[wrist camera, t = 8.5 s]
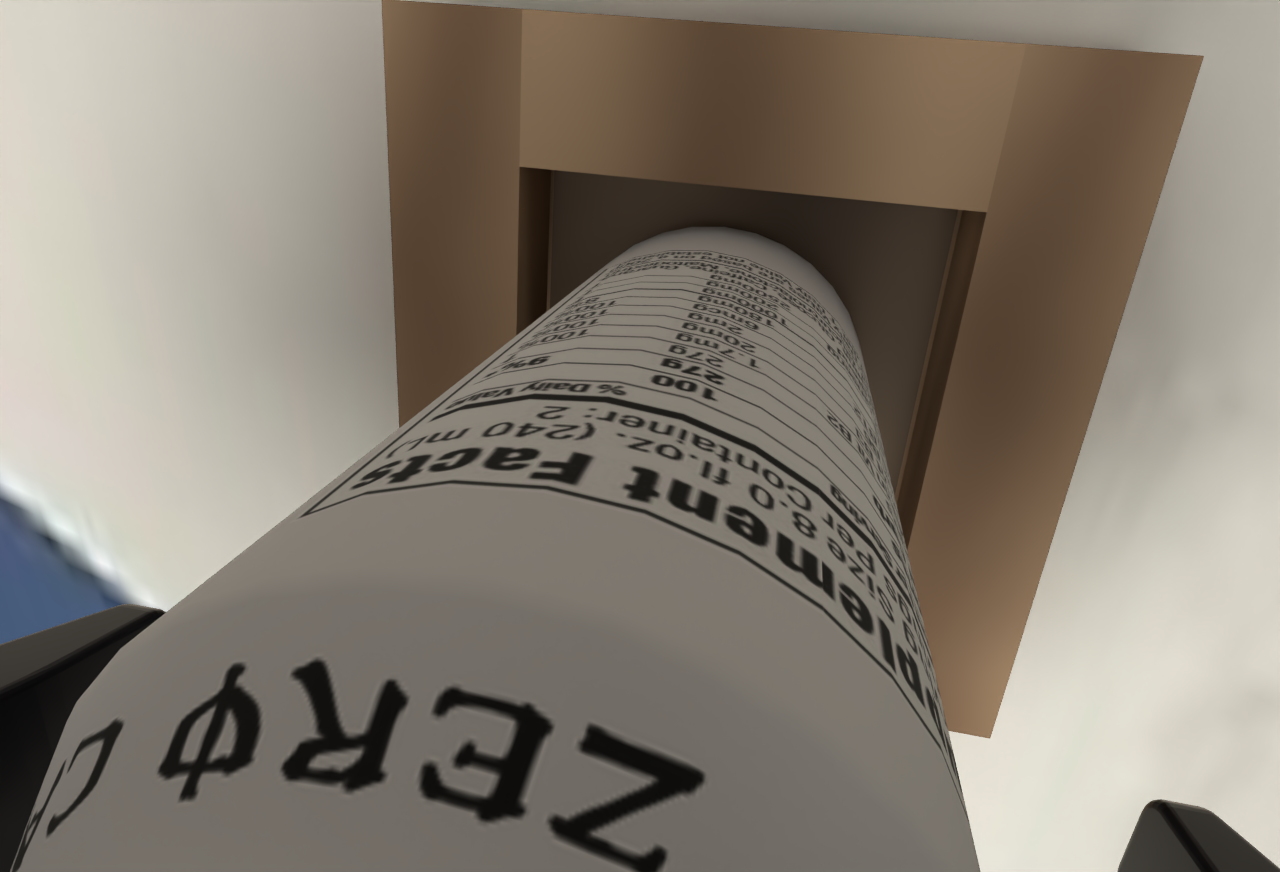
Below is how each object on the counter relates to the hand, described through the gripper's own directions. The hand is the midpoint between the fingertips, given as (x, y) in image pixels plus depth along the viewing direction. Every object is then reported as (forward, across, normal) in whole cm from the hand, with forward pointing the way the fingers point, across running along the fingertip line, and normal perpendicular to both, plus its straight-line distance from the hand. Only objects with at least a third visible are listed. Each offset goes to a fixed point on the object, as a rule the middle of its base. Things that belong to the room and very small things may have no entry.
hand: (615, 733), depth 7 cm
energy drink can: (+11, 0, 0) cm, 11 cm away
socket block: (+11, 0, 0) cm, 11 cm away
